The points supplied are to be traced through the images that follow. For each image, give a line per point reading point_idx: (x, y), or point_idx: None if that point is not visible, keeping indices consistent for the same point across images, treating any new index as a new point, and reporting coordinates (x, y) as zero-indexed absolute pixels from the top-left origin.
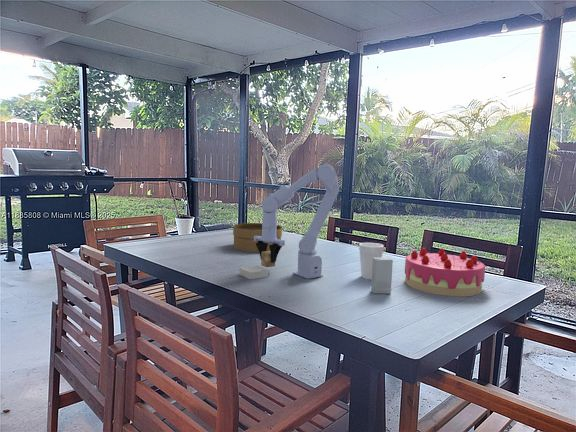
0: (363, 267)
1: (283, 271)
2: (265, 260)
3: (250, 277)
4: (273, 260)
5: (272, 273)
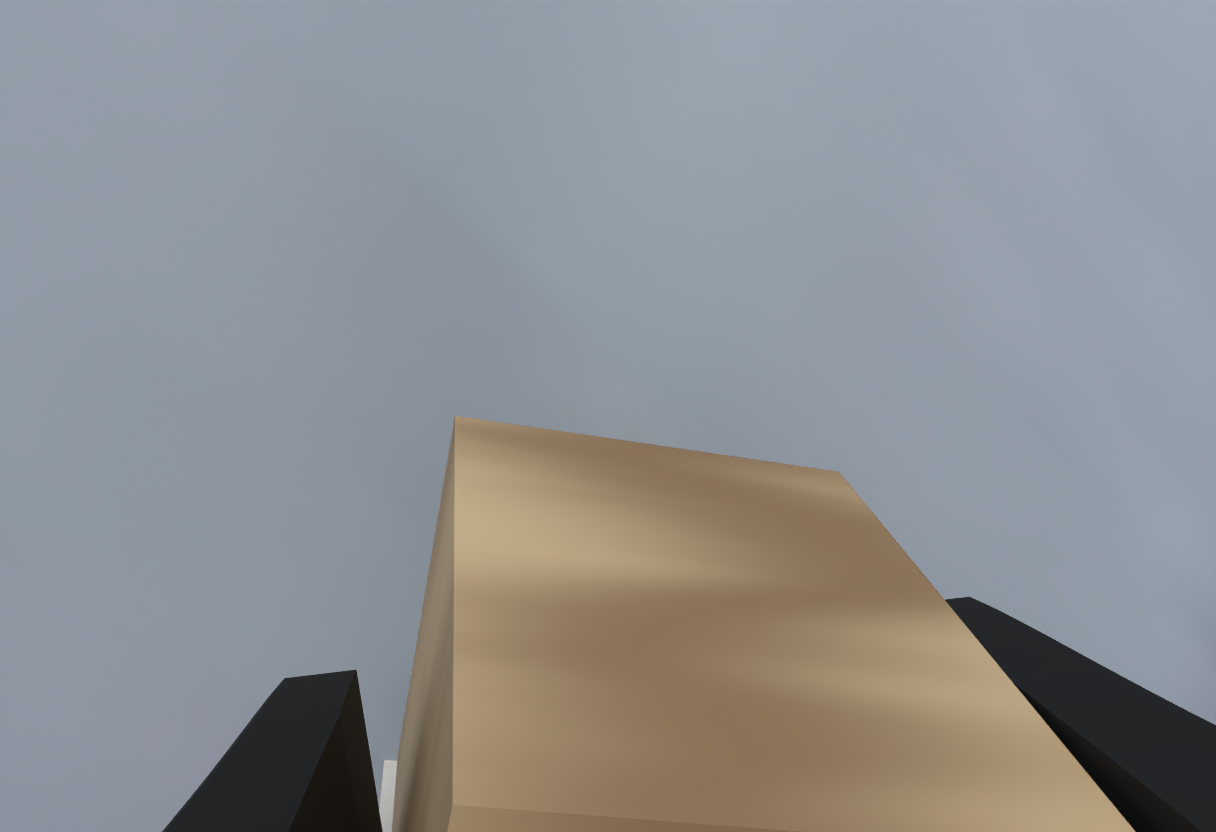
0: None
1: (905, 84)
2: None
3: None
4: None
5: None
